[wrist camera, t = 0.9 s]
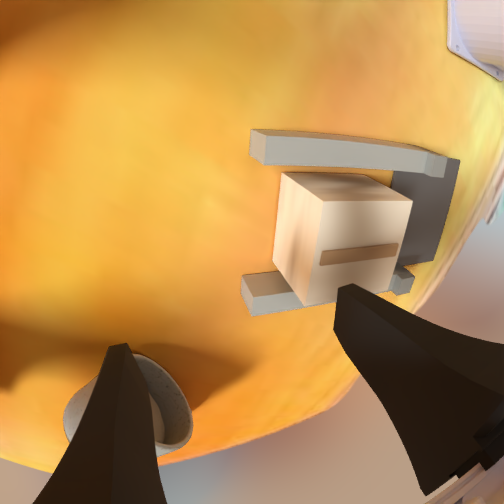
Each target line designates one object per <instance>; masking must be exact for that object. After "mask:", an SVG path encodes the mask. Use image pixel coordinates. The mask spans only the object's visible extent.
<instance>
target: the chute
mask: <svg viewBox="0 0 504 504" xmlns="http://www.w3.org/2000/svg"><path fill="white" fill-rule="evenodd" d="M249 155H250V156H252V157H253V158H254V159H256V160H257V161H259V162H260V163H262V164H263V165H296V166H329V167H351V168H367V169H382V170H394V171H406V172H416V173H424V174H426V175H428V176H431V177H440V178H444V173H445V168H446V163H447V158H448V157H446V156H443V155H440V154H438V153H435V152H433V151H430V150H427V149H424V148H422V147H419V146H415V145H410V144H404V143H397V142H391V141H384V140H377V139H370V138H362V137H354V136H345V135H336V134H325V133H313V132H300V131H284V130H262V129H251V136H250V151H249ZM414 279H415V276H414V275H413V274H412V273H410V272H409V271H408V270H407V269H406V268H404V267H403V266H402V265H401V264H400V263H398V262H396V265H395V269H394V272H393V275H392V278H391V281H390V284H389V287H388V290H387V291H392V292H393V293H394V294H395V295H396V296H397V295H401V294H405V293H409V292H410V290H411V287H412V284H413V281H414ZM387 291H382V292H387ZM382 292H377V293H373V294H378V293H382ZM241 295H242V297H243V299H244V302H245V304H246V306H247V308H248V310H249V312H250V314H251V316H257V315H264V314H270V313H276V312H282V311H288V310H294V309H300V308H306V307H311V306H317V305H322V304H328V303H333V302H337V301H332V302H326V303H321V304H315V305H310V306H304V305H303V304H302V302H301V301H300V299H299V298H298V296H297V295H296V294H295V292H294V291H293V289H292V288H291V286H290V285H289V284H288V282H287V281H286V279H285V278H284V277H283V275H282V274H281V272H280V271H275V272H267V273H258V274H250V275H242V281H241Z"/></svg>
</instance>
